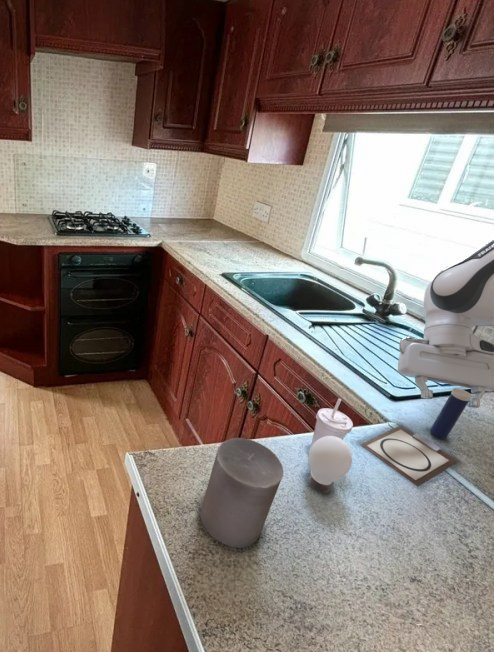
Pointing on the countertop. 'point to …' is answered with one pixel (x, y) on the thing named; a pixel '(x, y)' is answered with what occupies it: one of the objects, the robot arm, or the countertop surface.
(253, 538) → the pillar candle
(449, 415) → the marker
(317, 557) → the countertop surface
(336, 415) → the smoothie
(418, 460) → the clipboard
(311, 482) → the light bulb
